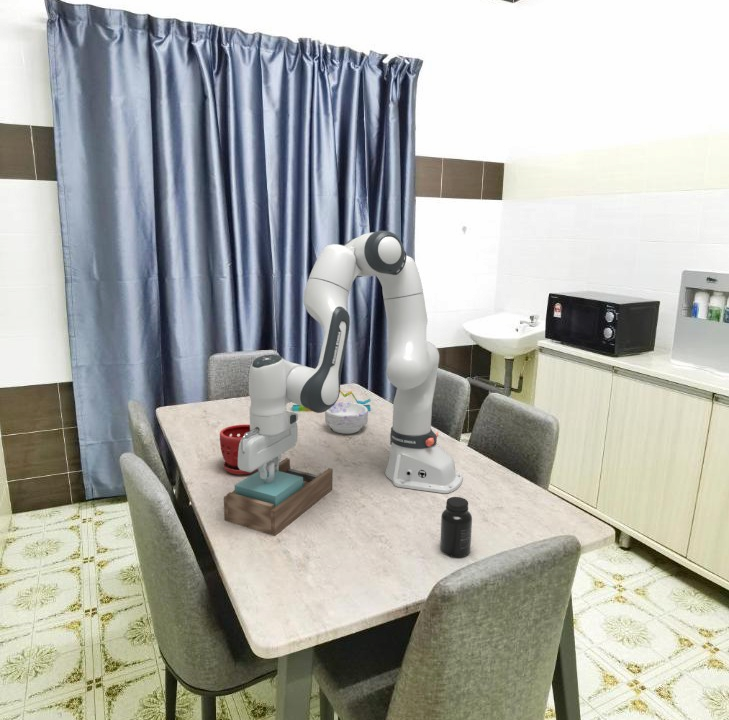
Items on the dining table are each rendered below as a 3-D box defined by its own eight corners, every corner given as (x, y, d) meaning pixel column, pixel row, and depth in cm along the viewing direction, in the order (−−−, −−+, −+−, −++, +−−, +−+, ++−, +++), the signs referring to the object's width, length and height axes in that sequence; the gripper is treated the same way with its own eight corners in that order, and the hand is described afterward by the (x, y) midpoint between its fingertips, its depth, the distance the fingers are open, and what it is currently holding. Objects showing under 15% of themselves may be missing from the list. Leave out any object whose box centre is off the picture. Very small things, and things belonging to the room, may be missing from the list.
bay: (332, 489, 156) (332, 465, 154) (275, 535, 132) (274, 507, 131) (286, 478, 162) (286, 454, 161) (224, 520, 139) (223, 493, 137)
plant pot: (274, 469, 168) (274, 430, 165) (236, 482, 159) (235, 442, 156) (250, 455, 177) (249, 419, 174) (212, 467, 168) (210, 429, 166)
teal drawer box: (303, 501, 145) (303, 458, 143) (276, 523, 135) (275, 476, 132) (265, 491, 151) (264, 449, 148) (235, 511, 140) (233, 466, 137)
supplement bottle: (466, 541, 132) (470, 494, 129) (473, 558, 125) (476, 509, 122) (437, 541, 131) (440, 494, 129) (442, 558, 125) (445, 508, 122)
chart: (369, 409, 225) (370, 372, 222) (370, 411, 222) (371, 375, 219) (292, 409, 223) (292, 372, 220) (292, 411, 220) (292, 374, 217)
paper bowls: (352, 440, 192) (353, 418, 190) (316, 431, 199) (316, 409, 198) (375, 427, 204) (376, 406, 203) (340, 419, 212) (340, 399, 210)
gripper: (252, 438, 127) (253, 494, 130) (301, 412, 145) (302, 462, 148) (230, 433, 129) (232, 488, 133) (281, 408, 147) (282, 458, 151)
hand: (269, 474), depth 140 cm, fingers closed on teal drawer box, 3 cm apart
